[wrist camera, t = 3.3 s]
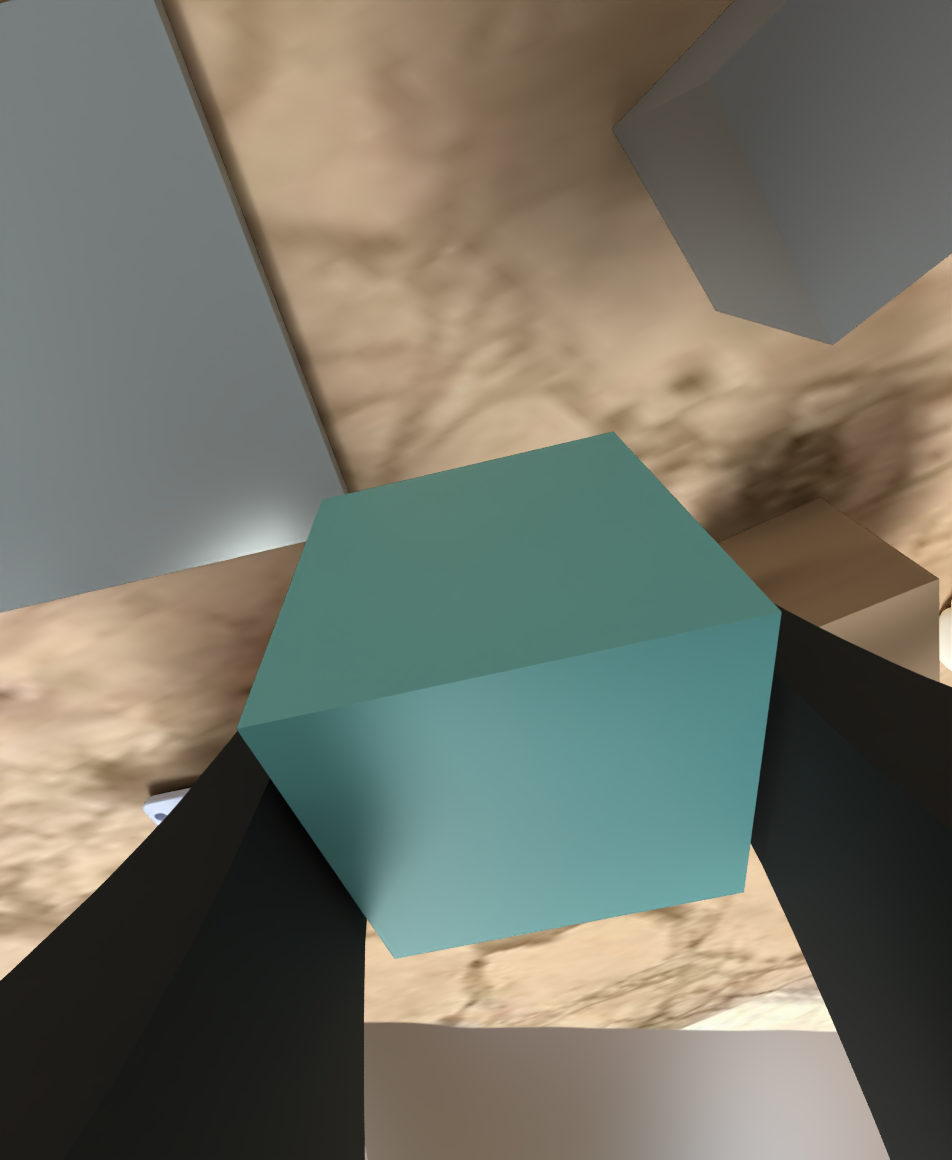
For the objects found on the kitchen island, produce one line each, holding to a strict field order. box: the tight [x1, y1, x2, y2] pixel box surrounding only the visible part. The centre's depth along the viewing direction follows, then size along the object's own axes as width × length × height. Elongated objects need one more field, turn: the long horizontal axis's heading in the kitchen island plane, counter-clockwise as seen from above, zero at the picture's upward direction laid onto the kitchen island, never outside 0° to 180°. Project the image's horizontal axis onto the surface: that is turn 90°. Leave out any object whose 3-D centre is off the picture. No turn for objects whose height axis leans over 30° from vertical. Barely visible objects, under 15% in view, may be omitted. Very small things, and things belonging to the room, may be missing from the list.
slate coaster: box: [0, 0, 348, 613], centre depth 14 cm, size 12×12×1 cm
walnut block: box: [718, 498, 940, 682], centre depth 18 cm, size 5×5×5 cm
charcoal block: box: [612, 0, 952, 345], centre depth 10 cm, size 5×5×5 cm
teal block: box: [237, 432, 782, 959], centre depth 8 cm, size 5×5×5 cm
